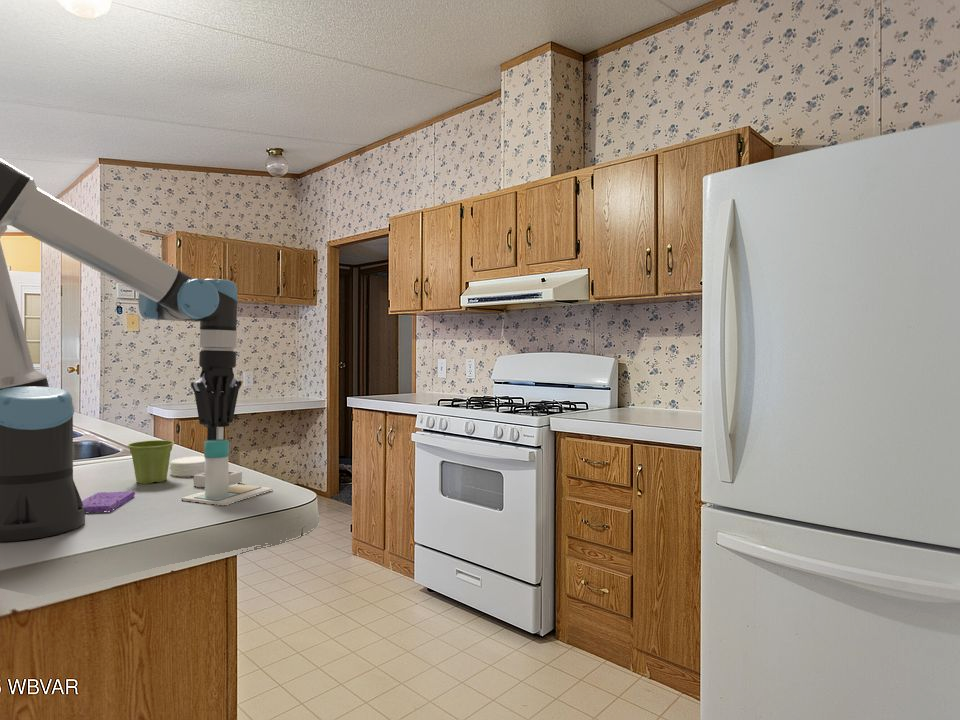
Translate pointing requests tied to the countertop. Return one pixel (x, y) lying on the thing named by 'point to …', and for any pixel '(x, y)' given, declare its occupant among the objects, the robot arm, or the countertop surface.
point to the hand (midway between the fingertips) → (215, 455)
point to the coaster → (187, 466)
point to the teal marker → (216, 468)
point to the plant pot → (151, 460)
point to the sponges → (106, 501)
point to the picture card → (234, 494)
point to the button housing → (232, 478)
